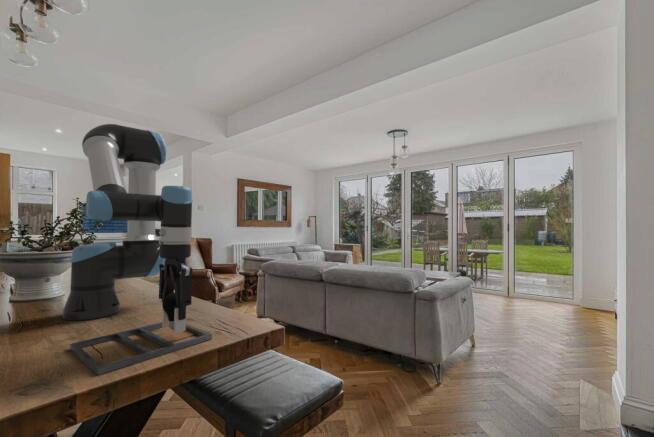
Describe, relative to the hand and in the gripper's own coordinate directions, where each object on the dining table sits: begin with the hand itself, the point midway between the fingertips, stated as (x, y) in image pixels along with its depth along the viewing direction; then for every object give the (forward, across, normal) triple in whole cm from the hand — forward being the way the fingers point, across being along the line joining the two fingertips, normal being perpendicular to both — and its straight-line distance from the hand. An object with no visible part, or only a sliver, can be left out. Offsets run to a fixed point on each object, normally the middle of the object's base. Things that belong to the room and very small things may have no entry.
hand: (173, 328), depth 82 cm
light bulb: (+1, 0, 0) cm, 1 cm away
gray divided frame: (+2, 0, -7) cm, 8 cm away
